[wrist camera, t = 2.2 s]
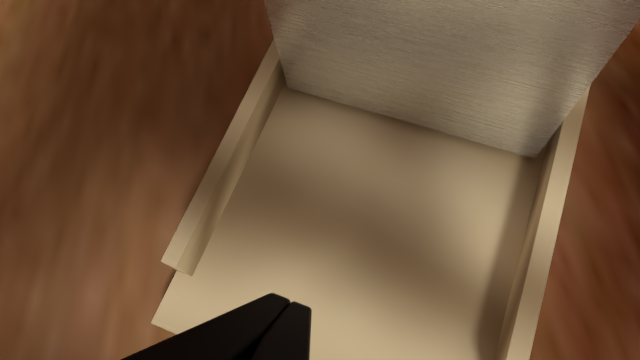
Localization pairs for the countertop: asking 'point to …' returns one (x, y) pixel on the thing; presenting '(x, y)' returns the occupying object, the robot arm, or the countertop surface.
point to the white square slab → (453, 60)
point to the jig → (371, 229)
